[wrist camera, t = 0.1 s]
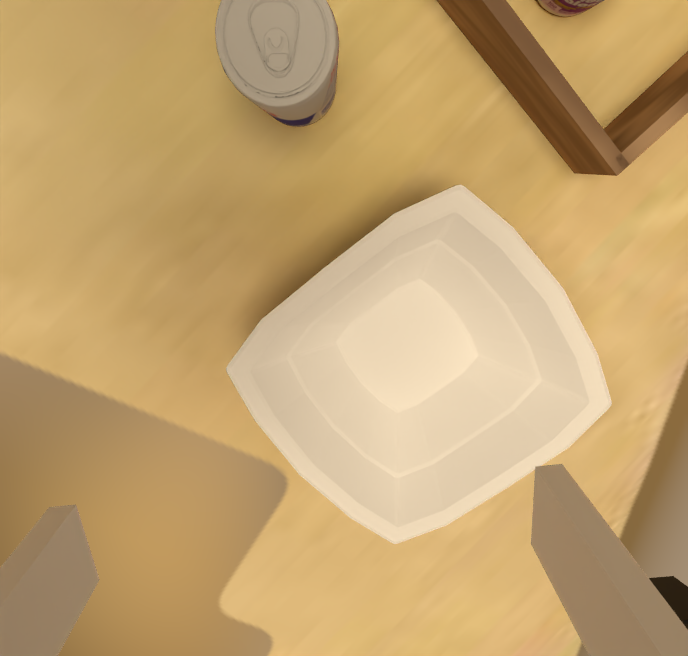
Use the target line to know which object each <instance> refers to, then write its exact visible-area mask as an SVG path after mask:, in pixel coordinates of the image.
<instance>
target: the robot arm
mask: <svg viewBox="0 0 688 656" xmlns="http://www.w3.org/2000/svg"><path fill="white" fill-rule="evenodd" d="M531 545H532V547H533V549H534V551H535V552H536V554H537V556H538V558H539V560H540V562H541V564H542V566H543V568H544V570H545V572H546V574H547V576H548V577H549V579H550V581H551V583H552V585H553V587H554V589H555V591H556V593H557V595H558V597H559V599H560V600H561V602H562V604H563V606H564V608H565V610H566V612H567V614H568V616H569V618H570V620H571V622H572V624H573V625H574V627H575V629H576V631H577V633H578V635H579V637H580V639H581V641H582V643H583V645H584V646H585V648H586V650H587V652H588V654H589V656H688V587H687V586H686V585H684V584H683V583H682V582H680V581H679V580H678V579H676V578H675V577H674V576H670V577H657V578H648V577H647V575H646V574H645V573H644V572H643V570H642V569H641V567H640V566H639V565H638V563H637V562H636V561H635V560H634V558H633V557H632V556H631V554H630V553H629V552H628V550H627V549H626V548H625V546H624V545H623V544H622V543H621V541H620V540H619V538H618V537H617V536H616V534H615V533H614V532H613V531H612V529H611V528H610V527H609V525H608V524H607V523H606V521H605V520H604V519H603V517H602V516H601V515H600V513H599V512H598V511H597V509H596V508H595V507H594V506H593V504H592V503H591V502H590V500H589V499H588V498H587V496H586V495H585V494H584V492H583V491H582V490H581V488H580V487H579V486H578V484H577V483H576V482H575V480H574V479H573V478H572V477H571V475H570V474H569V473H568V471H567V470H566V469H565V467H564V466H563V465H562V464H559V465H547V466H535V481H534V499H533V517H532V535H531ZM98 581H99V577H98V574H97V570H96V567H95V564H94V561H93V558H92V554H91V551H90V548H89V545H88V542H87V538H86V536H85V532H84V529H83V526H82V523H81V519H80V516H79V513H78V510H77V506H76V505H68V506H55V507H49V508H48V509H47V510H46V512H45V513H44V514H43V515H42V517H41V518H40V519H39V520H38V522H37V523H36V524H35V525H34V527H33V528H32V529H31V530H30V531H29V533H28V534H27V535H26V537H25V538H24V539H23V540H22V541H21V543H20V544H19V545H18V546H17V548H16V549H15V550H14V551H13V553H12V554H11V555H10V556H9V557H8V559H7V560H6V561H5V563H4V564H3V565H2V566H1V567H0V656H58V654H59V652H60V651H61V649H62V647H63V645H64V643H65V641H66V640H67V638H68V636H69V634H70V632H71V631H72V629H73V627H74V625H75V623H76V621H77V619H78V618H79V616H80V614H81V612H82V611H83V609H84V607H85V605H86V603H87V601H88V600H89V598H90V596H91V594H92V592H93V591H94V589H95V587H96V585H97V583H98Z"/></svg>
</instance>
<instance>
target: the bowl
mask: <svg viewBox="0 0 688 656" xmlns="http://www.w3.org/2000/svg"><path fill="white" fill-rule="evenodd" d="M226 371H227V373H228V375H229V377H230V379H231V380H232V382H233V384H234V386H235V387H236V389H237V391H238V393H239V394H240V396H241V398H242V399H243V401H244V403H245V405H246V406H247V408H248V410H249V412H250V413H251V415H252V417H253V418H254V420H255V421H256V423H257V424H258V425H259V426H260V428H261V429H262V430H263V431H264V432H265V434H266V435H267V436H268V437H269V438H270V440H271V441H272V442H273V443H274V444H275V446H276V447H277V448H278V449H279V451H280V452H281V453H282V454H283V455H284V457H285V458H286V459H287V460H288V461H289V463H290V464H291V465H292V466H293V468H294V469H295V470H296V471H297V472H298V474H299V475H300V476H302V477H303V478H304V479H305V480H306V481H307V482H309V483H310V484H311V485H312V486H313V487H314V488H316V489H317V490H318V491H319V492H320V493H322V494H323V495H324V496H325V497H326V498H327V499H329V500H330V501H331V502H332V503H333V504H335V505H336V506H337V507H338V508H339V509H340V510H342V511H343V512H344V513H345V514H346V515H347V516H349V517H350V518H351V519H353V520H354V521H356V522H358V523H359V524H361V525H363V526H364V527H366V528H368V529H369V530H371V531H373V532H374V533H376V534H378V535H379V536H381V537H383V538H384V539H386V540H388V541H389V542H391V543H393V544H398V543H401V542H403V541H406V540H409V539H411V538H414V537H417V536H419V535H422V534H425V533H427V532H430V531H433V530H436V529H438V528H441V527H444V526H446V525H448V524H450V523H451V522H453V521H454V520H456V519H458V518H459V517H461V516H463V515H464V514H466V513H467V512H469V511H471V510H472V509H474V508H475V507H477V506H479V505H480V504H482V503H483V502H485V501H487V500H488V499H490V498H492V497H493V496H495V495H496V494H498V493H500V492H501V491H503V490H504V489H506V488H508V487H509V486H511V485H512V484H514V483H515V482H517V481H518V480H520V479H521V478H523V477H525V476H526V475H528V474H529V473H531V472H532V471H534V470H535V466H541V465H543V464H544V463H546V462H548V461H549V460H551V459H552V458H554V457H555V456H557V455H558V454H560V453H561V452H563V451H564V450H566V449H567V448H569V447H570V446H571V445H572V444H573V443H574V442H575V441H576V440H577V439H578V438H579V437H580V436H581V435H582V434H583V433H584V432H585V431H586V430H587V429H588V428H589V427H590V426H591V425H592V424H593V423H594V422H595V421H596V420H597V419H599V418H600V417H601V416H602V415H603V414H604V413H605V412H606V411H607V410H608V409H609V408H610V406H611V405H612V401H611V398H610V394H609V391H608V388H607V384H606V381H605V377H604V374H603V371H602V367H601V364H600V361H599V357H598V354H597V352H596V350H595V348H594V346H593V344H592V342H591V340H590V338H589V336H588V334H587V333H586V331H585V329H584V327H583V325H582V323H581V321H580V319H579V317H578V315H577V314H576V312H575V310H574V308H573V306H572V304H571V302H570V300H569V298H568V296H567V294H566V293H565V291H564V289H563V287H562V286H561V285H560V284H559V283H558V281H557V280H556V279H555V278H554V276H553V275H552V274H551V273H550V272H549V270H548V269H547V268H546V267H545V266H544V264H543V263H542V262H541V261H540V259H539V258H538V257H537V256H536V255H535V253H534V252H533V251H532V250H531V249H530V247H529V246H528V245H527V244H526V242H525V241H524V240H523V239H522V238H521V236H520V235H519V234H518V233H517V231H516V230H515V229H514V228H513V227H512V226H511V225H510V224H509V223H507V222H506V221H505V220H504V219H503V218H502V217H500V216H499V215H498V214H497V213H496V212H494V211H493V210H492V209H491V208H490V207H488V206H487V205H486V204H485V203H484V202H482V201H481V200H480V199H479V198H478V197H476V196H475V195H474V194H473V193H472V192H470V191H469V190H468V189H467V188H466V187H465V186H462V185H456V186H453V187H451V188H449V189H447V190H444V191H442V192H440V193H438V194H436V195H434V196H431V197H429V198H427V199H425V200H423V201H420V202H418V203H416V204H414V205H412V206H410V207H407V208H405V209H403V210H401V211H399V212H396V213H394V214H393V215H392V216H390V217H389V218H388V219H386V220H385V221H384V222H383V223H381V224H380V225H379V226H377V227H376V228H375V229H374V230H372V231H371V232H370V233H368V234H367V235H366V236H365V237H363V238H362V239H361V240H359V241H358V242H357V243H355V244H354V245H353V246H352V247H350V248H349V249H348V250H346V251H345V252H344V253H343V254H341V255H340V256H339V257H337V258H336V259H335V260H333V261H332V262H331V263H330V264H328V265H327V266H326V267H324V268H323V269H322V270H321V271H320V272H318V273H317V274H316V275H315V276H314V277H312V278H311V279H310V280H309V281H307V282H306V283H305V284H304V285H303V286H301V287H300V288H299V289H298V290H296V291H295V292H294V293H293V294H292V295H290V296H289V297H288V298H287V299H286V300H284V301H283V302H282V303H281V304H279V305H278V306H277V307H276V308H275V309H273V310H272V311H271V312H270V313H268V314H267V315H266V316H265V317H264V318H262V319H261V320H260V322H259V323H258V324H257V326H256V327H255V328H254V330H253V331H252V333H251V334H250V335H249V337H248V338H247V339H246V341H245V342H244V343H243V345H242V346H241V348H240V349H239V350H238V352H237V353H236V354H235V356H234V357H233V358H232V360H231V361H230V363H229V364H228V365H227V368H226Z"/></svg>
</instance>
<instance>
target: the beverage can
mask: <svg viewBox="0 0 688 656" xmlns="http://www.w3.org/2000/svg"><path fill="white" fill-rule="evenodd" d="M215 34H216V45H217V51H218V54H219V57H220V60H221V63H222V66H223V69H224V71H225V73H226V75H227V76H228V78H229V79H230V81H231V82H232V83H233V85H234V86H235V87H236V88H237V90H238V91H240V92H241V93H242V94H243V95H244V96H245V97H247V98H248V99H249V100H251V101H252V102H253V103H255V104H256V105H257V106H259V107H260V108H262V109H263V110H264V111H266V112H267V113H268V114H270V115H271V116H272V117H274V118H275V119H276V120H278V121H280V122H282V123H284V124H286V125H290V126H297V127H300V126H307V125H310V124H312V123H315V122H316V121H318V120H319V119H321V118H322V117H323V116H324V115H325V114H326V113H327V111H328V110H329V108H330V106H331V105H332V102H333V100H334V96H335V91H336V79H337V65H338V51H339V37H338V28H337V24H336V21H335V18H334V15H333V12H332V10H331V8H330V6H329V4H328V3H327V1H326V0H221V3H220V5H219V9H218V13H217V18H216V27H215Z"/></svg>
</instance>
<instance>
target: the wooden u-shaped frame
mask: <svg viewBox="0 0 688 656" xmlns="http://www.w3.org/2000/svg"><path fill="white" fill-rule="evenodd" d="M437 1H438V2H439V4H440V5H441V6H442V7H443V9H444V10H445V11H446V12H447V14H448V15H449V16H450V17H451V19H452V20H453V21H454V22H455V24H456V25H457V26H458V27H459V29H460V30H461V31H462V32H463V34H464V35H465V36H466V37H467V39H468V40H469V41H470V43H471V44H472V45H473V46H474V48H475V49H476V50H477V51H478V53H479V54H480V55H481V56H482V58H483V59H484V60H485V61H486V63H487V64H488V65H489V66H490V68H491V69H492V70H493V71H494V73H495V74H496V75H497V76H498V78H499V79H500V80H501V81H502V83H503V84H504V85H505V86H506V88H507V89H508V90H509V91H510V93H511V94H512V95H513V96H514V98H515V99H516V100H517V102H518V103H519V104H520V105H521V107H522V108H523V109H524V110H525V112H526V113H527V114H528V115H529V117H530V118H531V119H532V120H533V122H534V123H535V124H536V125H537V127H538V128H539V129H540V130H541V132H542V133H543V134H544V135H545V137H546V138H547V139H548V140H549V142H550V143H551V144H552V145H553V147H554V148H555V149H556V150H557V152H558V153H559V154H560V155H561V157H562V158H563V159H564V161H565V162H566V163H567V164H568V166H569V167H570V168H571V169H572V171H573V172H574V173H580V174H597V175H615V176H617V175H618V174H620V173H621V172H622V171H623V170H624V169H625V168H626V167H627V166H628V165H630V164H631V163H632V162H633V161H634V160H635V159H636V158H637V157H639V156H640V155H641V154H642V153H643V152H644V151H645V150H646V149H647V148H649V147H650V146H651V145H652V144H653V143H654V142H655V141H656V140H657V139H659V138H660V137H661V136H662V135H663V134H664V133H665V132H666V131H668V130H669V129H670V128H671V127H672V126H673V125H674V124H675V123H676V122H678V121H679V120H680V119H681V118H682V117H683V116H684V115H685V114H686V113H688V52H687V53H686V54H685V55H684V56H682V57H681V58H680V59H679V60H678V61H677V62H676V63H675V64H674V65H673V66H672V67H671V68H669V69H668V70H667V71H666V72H665V73H664V74H663V75H662V76H661V77H660V78H659V79H658V80H657V81H655V82H654V83H653V84H652V85H651V86H650V87H649V88H648V89H647V90H646V91H645V92H644V93H643V94H641V95H640V96H639V97H638V98H637V99H636V100H635V101H634V102H633V103H632V104H631V105H630V106H629V107H627V108H626V109H625V110H624V111H623V112H622V113H621V114H620V115H619V116H618V117H617V118H616V119H614V120H613V121H612V122H611V123H610V124H609V125H608V126H607V127H606V128H605V129H604V130H603V128H602V127H601V126H600V124H599V123H598V122H597V120H596V119H595V118H594V116H593V115H592V114H591V112H590V111H589V110H588V108H587V107H586V106H585V104H584V103H583V102H582V100H581V99H580V98H579V97H578V95H577V94H576V93H575V91H574V90H573V89H572V87H571V86H570V85H569V83H568V82H567V81H566V79H565V78H564V77H563V75H562V74H561V73H560V71H559V70H558V69H557V67H556V66H555V65H554V63H553V62H552V61H551V59H550V58H549V57H548V55H547V54H546V53H545V51H544V50H543V49H542V47H541V46H540V45H539V44H538V42H537V41H536V40H535V38H534V37H533V36H532V34H531V33H530V32H529V30H528V29H527V28H526V26H525V25H524V24H523V22H522V21H521V20H520V18H519V17H518V16H517V14H516V13H515V12H514V10H513V9H512V8H511V6H510V5H509V4H508V2H507V1H506V0H437Z"/></svg>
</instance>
